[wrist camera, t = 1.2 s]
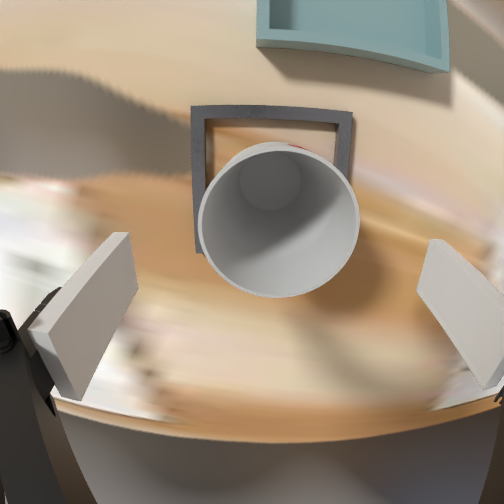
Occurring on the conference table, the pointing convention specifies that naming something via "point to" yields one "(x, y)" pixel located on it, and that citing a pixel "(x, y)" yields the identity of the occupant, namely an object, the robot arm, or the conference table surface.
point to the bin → (360, 29)
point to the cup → (278, 220)
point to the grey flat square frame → (262, 112)
